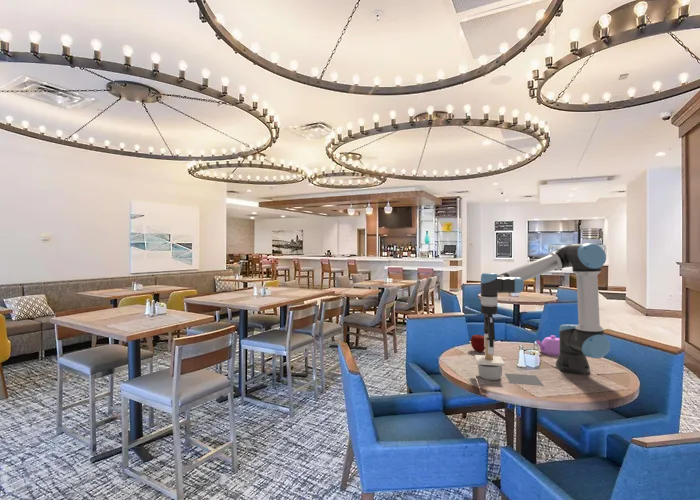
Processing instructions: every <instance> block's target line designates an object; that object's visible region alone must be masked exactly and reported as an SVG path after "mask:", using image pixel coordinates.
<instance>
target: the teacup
mask: <svg viewBox="0 0 700 500" xmlns="http://www.w3.org/2000/svg"><path fill="white" fill-rule="evenodd" d="M477 368H478V369H477V370H478V374H479V377H481V378H482V379H483V380H486V381H498V380H500V379H501V378H502V376H503V366H494V365H479V364H477Z"/></svg>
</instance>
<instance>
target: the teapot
mask: <svg viewBox="0 0 700 500" xmlns="http://www.w3.org/2000/svg"><path fill="white" fill-rule="evenodd" d="M535 343H536V344H537V345H538V346H539V350H540V352H541V353H542V354H544V355H548V356H553V357H558V356H559V353H560V340H559V337H556V335H550V336H547V337H544V339H543V340H542V341H541V340H538V339H537V340H536V341H535Z"/></svg>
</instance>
